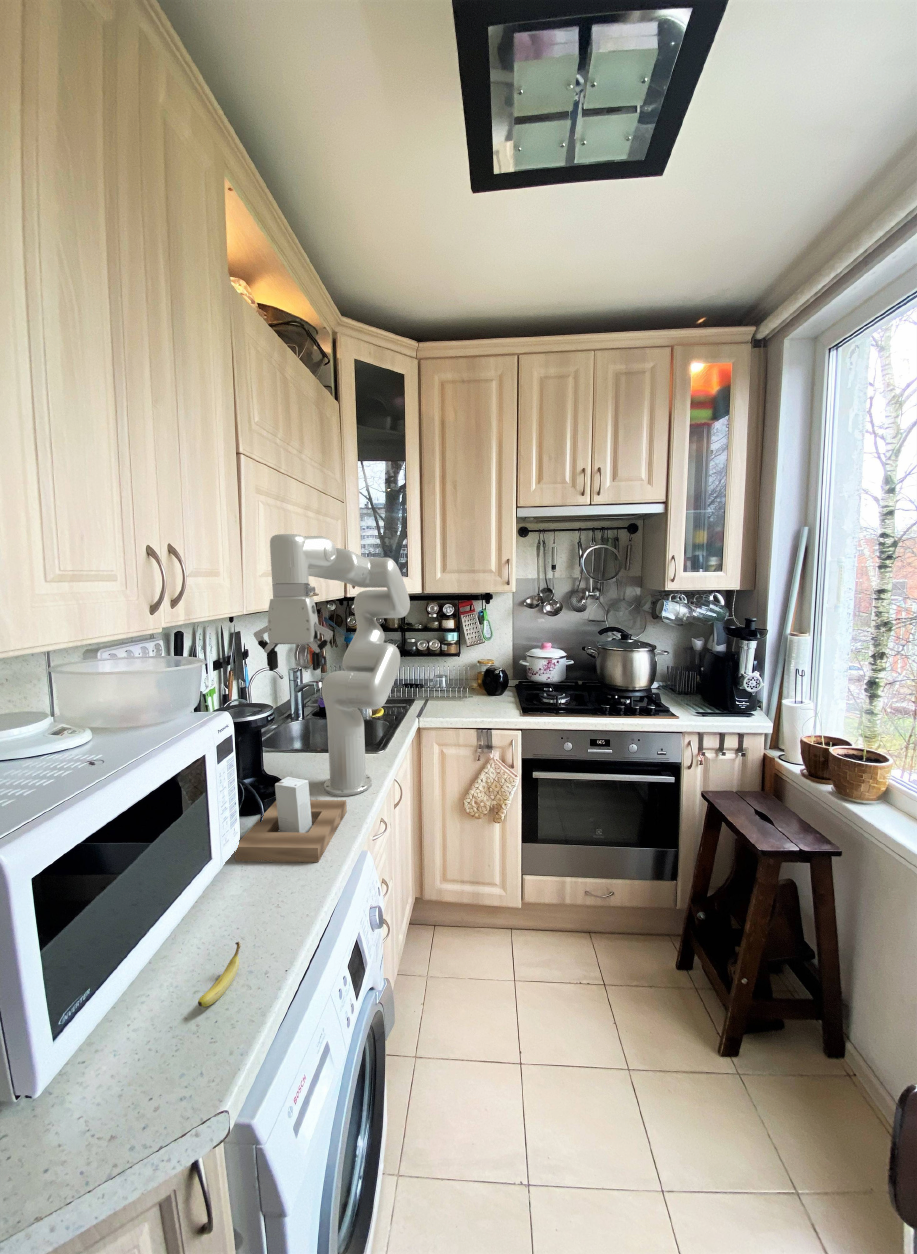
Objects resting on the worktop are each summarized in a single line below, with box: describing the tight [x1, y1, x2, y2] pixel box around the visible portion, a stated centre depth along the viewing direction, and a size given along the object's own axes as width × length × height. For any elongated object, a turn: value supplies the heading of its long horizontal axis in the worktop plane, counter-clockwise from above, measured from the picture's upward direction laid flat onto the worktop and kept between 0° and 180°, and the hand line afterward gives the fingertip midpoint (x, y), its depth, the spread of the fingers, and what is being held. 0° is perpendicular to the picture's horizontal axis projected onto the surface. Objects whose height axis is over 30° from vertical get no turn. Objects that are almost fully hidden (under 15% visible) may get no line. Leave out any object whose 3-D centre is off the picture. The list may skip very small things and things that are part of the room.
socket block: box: [234, 799, 348, 863], centre depth 103 cm, size 20×17×3 cm
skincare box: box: [274, 776, 313, 833], centre depth 103 cm, size 6×4×12 cm
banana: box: [197, 941, 242, 1008], centre depth 65 cm, size 8×2×4 cm, turn 170°
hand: (295, 669), depth 104 cm, fingers open, 9 cm apart
